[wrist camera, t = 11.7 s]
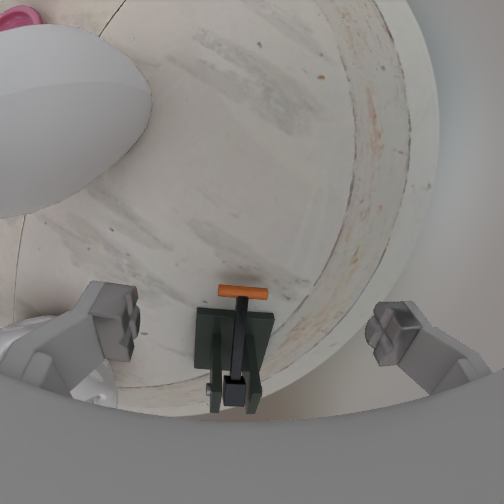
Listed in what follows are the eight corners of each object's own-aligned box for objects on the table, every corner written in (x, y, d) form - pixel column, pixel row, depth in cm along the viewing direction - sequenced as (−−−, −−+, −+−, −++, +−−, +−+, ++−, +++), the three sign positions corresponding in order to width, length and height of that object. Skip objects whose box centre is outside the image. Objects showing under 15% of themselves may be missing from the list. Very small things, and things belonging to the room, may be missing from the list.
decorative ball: (12, 264, 27) (-60, 354, 12) (140, 321, 32) (108, 448, 17) (23, 352, 35) (-12, 429, 19) (120, 395, 40) (104, 483, 25)
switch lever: (218, 283, 29) (219, 284, 27) (265, 287, 30) (270, 289, 28) (209, 395, 29) (210, 405, 26) (253, 397, 30) (257, 406, 27)
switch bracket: (197, 307, 32) (192, 374, 23) (273, 313, 33) (288, 377, 25) (194, 361, 37) (191, 422, 28) (258, 365, 38) (267, 424, 29)
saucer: (66, -1, 14) (52, -9, 11) (44, 106, 19) (26, 108, 17) (-9, 26, 12) (-24, 24, 9) (-24, 119, 17) (-40, 123, 15)
